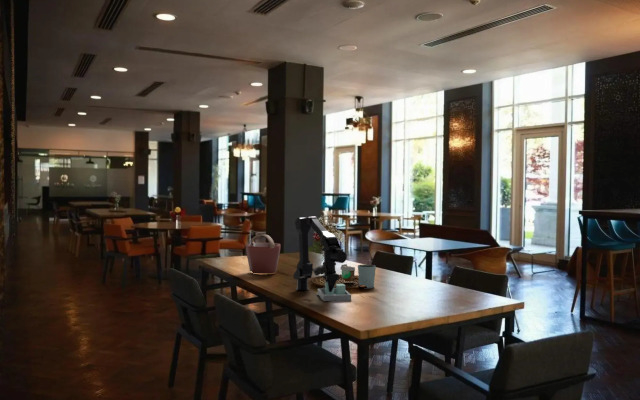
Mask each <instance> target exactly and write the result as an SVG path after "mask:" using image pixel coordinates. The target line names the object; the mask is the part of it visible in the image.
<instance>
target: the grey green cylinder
mask: <svg viewBox="0 0 640 400" xmlns="http://www.w3.org/2000/svg"><path fill="white" fill-rule="evenodd" d="M376 269H377V267H376V265H374V264H358V265H357V274H358V286H359V285H365V286H366V287H367V288H366V289H374V287H375V279H376V278H375V276H376Z"/></svg>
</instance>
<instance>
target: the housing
mask: <svg viewBox="0 0 640 400" xmlns="http://www.w3.org/2000/svg"><path fill="white" fill-rule="evenodd" d="M318 295H319V296H320V297H319V296H318ZM317 296H318V297H319V298H320V300H321V301H322V300H323V301H335V302H351V301H352V294H351V293H350V292H349V291H348V290H346V284H344V283H335V287H334V295H326V294H325V288H317ZM323 301H322V302H323Z"/></svg>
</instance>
